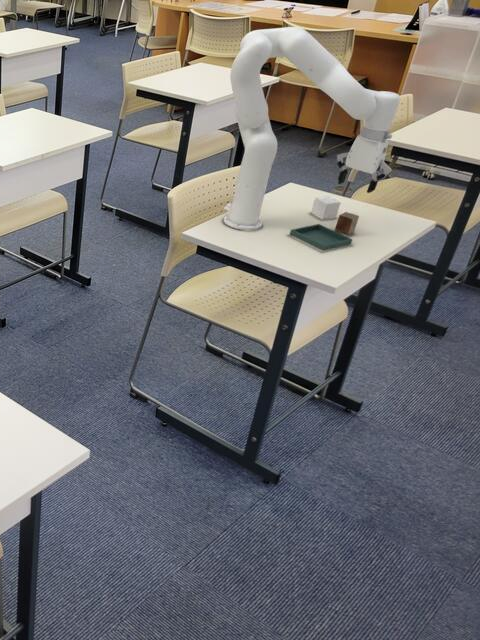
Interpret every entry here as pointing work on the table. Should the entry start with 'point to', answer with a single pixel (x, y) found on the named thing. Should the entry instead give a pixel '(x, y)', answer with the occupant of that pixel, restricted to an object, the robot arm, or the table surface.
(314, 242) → the tray
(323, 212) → the white cube
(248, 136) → the robot arm
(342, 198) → the table surface
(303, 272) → the table surface
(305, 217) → the table surface
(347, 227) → the block
